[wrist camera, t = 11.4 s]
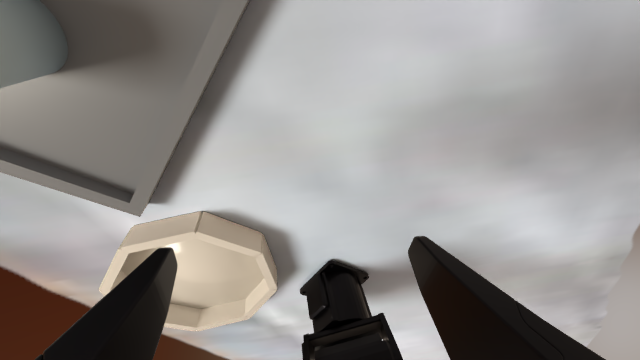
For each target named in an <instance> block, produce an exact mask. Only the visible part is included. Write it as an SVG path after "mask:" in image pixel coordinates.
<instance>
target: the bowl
mask: <svg viewBox="0 0 640 360" xmlns="http://www.w3.org/2000/svg"><path fill="white" fill-rule="evenodd" d="M165 247H171V248H173V250H174V253H175V257H176V260H177V265H178V267H177V273H176V278H175V282H174V287H173V292H172V296H171V301H170V306H169V310H168V314H167V318H166V321H165V324H164V327H168V328H175V329H182V330H189V331H196V330H197V331H201V330H205V329H210V328H214V327H218V326H222V325H226V324H230V323H234V322H238V321H243V320H247V319H249V318H251V317H252V316H253V315H254V314H255V313H256V312H257V311H258V310H259V308H260V307H261V306H262V305H263V304H264V303H265V302H266V301H267V300H268V299H269V298H270V297H271V296H272V295H273V294H274V293H275V292H276V291H277V268H276V265H275V263H274V260H273V258H272V255H271V253H270V250H269V248H268V245H267V243H266V240H265V238H264V235H263V234H262V233H261V232H258V231H256V230H253V229H250V228H247V227H245V226H242V225H239V224H237V223H234V222H231V221H228V220H226V219H223V218H220V217H218V216H215V215H212V214H209V213H207V212H204V211H203V213H201V211H199V212H194V213H190V214H185V215H180V216H176V217H171V218H166V219H162V220H157V221H152V222H148V223H143V224H138V225H134V226H133V227H132V228H131V229H130V231H129V232H128V234H127V236H126V237H125V239H124V240H123V242H122V244H121V245H120V247H119V248H118V250H117V252H116V254H115V256H114V259H113V261H112V263H111V265H110V267H109V269H108V271H107V273H106V275H105V277H104V279H103V281H102V283H101V285H100V287H99V291H100V292H101V293H102V294H103V295H104V296H106V295H107V294H108V293H109V292H110V291H111V290H112V289H113V288H114V287H116V286H117V285H118V284H119V283H120V282H121V281H122V280H123V279H124V278H125V277H127V276H128V275H129V274H130V273H131V272H132V271H133V270H134V269H135V268H137V267H138V266H139V265H140V264H141V263H142V262H143V261H144V260H145V259H146V258H148V257H149V256H150V255H151V254H152V253H153V252H154V251H155V250H156V249H158V248H165Z"/></svg>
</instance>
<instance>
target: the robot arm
mask: <svg viewBox="0 0 640 360" xmlns="http://www.w3.org/2000/svg"><path fill="white" fill-rule="evenodd" d="M408 255H409V259H410V262H411V265H412V268H413V271H414V274H415V277H416V280H417V283H418V286H419V289H420V291H421V294H422V296H423V299H424V301H425V303H426V305H427V308H428V310H429V312H430V314H431V317H432V319H433V321H434V323H435V326H436V328H437V330H438V333H439V335H440V337H441V339H442V342H443V344H444V346H445V348H446V351H447V353H448V355H449V357H450V360H605V359H604V358H602V357H600V356H599V355H597V354H596V353H594V352H593V351H591V350H590V349H588V348H587V347H585V346H583V345H582V344H580V343H579V342H577V341H576V340H574V339H572V338H571V337H569V336H568V335H566V334H564V333H563V332H561V331H560V330H558V329H557V328H555V327H554V326H552V325H551V324H549V323H548V322H546V321H545V320H543V319H542V318H540V317H539V316H537V315H536V314H534V313H533V312H531V311H530V310H529V309H527V308H526V307H524V306H523V305H521V304H520V303H519V302H517V301H515V300H514V299H513V298H512V297H510V296H509V295H507V294H506V293H505V292H503V291H502V290H500V289H499V288H497V287H496V286H495V285H493V284H492V283H490V282H489V281H488V280H486V279H485V278H483V277H482V276H481V275H479V274H478V273H476V272H475V271H473V270H472V269H471V268H469V267H468V266H466V265H465V264H464V263H462V262H461V261H459V260H458V259H457V258H455V257H454V256H452V255H451V254H450V253H448V252H447V251H445V250H444V249H442V248H441V247H440V246H438V245H437V244H435V243H434V242H433V241H431V240H430V239H428V238H427V237H425V236H416V237H415V238H414V239H413V241H412V243H411V245H410V247H409V250H408ZM177 267H178V265H177V260H176V257H175V253H174V250H173V248H171V247H165V248H158V249H156V250H155V251H154V252H153V253H152V254H151V255H150V256H149V257H148V258H146V259H145V260H144V261H143V262H142V263H141V264H140V265H139V266H138V267H137V268H135V269H134V270H133V271H132V272H131V273H130V274H129V275H128V276H127V277H125V278H124V279H123V280H122V281H121V282H120V283H119V284H118V285H117V286H116V287H114V288H113V289H112V290H111V291H110V292H109V293H108V294H107V295H106V296H104V297H103V298H102V299H101V300H100V301H99V302H98V303H97V304H96V305H95V306H93V307H92V308H91V309H90V310H89V311H88V312H87V313H86V314H85V315H84V316H82V317H81V318H80V319H79V320H78V321H77V322H76V323H75V324H74V325H72V326H71V327H70V328H69V329H68V330H67V331H66V332H65V333H64V334H63V335H61V336H60V337H59V338H58V339H57V340H56V341H55V342H54V343H53V344H52V345H51V346H49V347H48V348H47V349H46V350H45V351H44V352H43V355H39V356H38V357H37V358H36V359H35V360H153V356H154V354H155V351H156V348H157V345H158V342H159V339H160V336H161V333H162V330H163V327H164V324H165V321H166V318H167V314H168V310H169V306H170V301H171V296H172V292H173V287H174V282H175V278H176V273H177ZM368 278H369V275H368V273H366V272H363V271H360V270H358V269H355V268H352V267H349V266H347V265H344V264H341V263H338V262H336V261H332V260H331V261H328V262H327V263H326V264H325V265H324V266H323V267H322V268H321V269H320V270H319V271H318V272H317V273H316V274H315V275H314V276H313V277H312V278H311V279H310V280H309V281H308V282H307V283H306V284H305V285H304V286H303V287H302V288H301V289H300V294H302V295H305V296H307V302H308V310H309V317H310V319H312V320H313V328H314V333H313V334H305V335H304V343H302V353H303V360H403V359H402V356H401V353H400V351H399V348H398V346H397V344H396V341H395V339H394V337H393V335H392V332H391V330H390V328H389V325H388V323H387V321H386V318H385V316H384V314H383V313H379V314H378V315H376V316H372V315H371V312H370V309H369V306H368V303H367V300H366V297H365V294H364V291H363V288H362V285H361V284H363V283H364V282H365V281H366V280H367V279H368ZM382 339H383V341H382Z"/></svg>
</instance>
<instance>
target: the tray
mask: <svg viewBox="0 0 640 360" xmlns="http://www.w3.org/2000/svg"><path fill="white" fill-rule="evenodd" d="M40 1H41V2H42V3H43V4H44V5H45V6H46V7H47V8H48V9H49V10H50V12H51V13H52V14H53V15H54V16H55V18H56V19H57V21H58V22H59V24H60V26H61V28H62V29H63V32H64V34H65V37H66V40H67V45H68V56H67V60H66V62H65V64H64V65H63V67H62V68H61V69H59V70H58V71H57V72H54V73H52V74H49V75H45V76H42V77H38V78H35V79H31V80H28V81H24V82H21V83H17V84H14V85H10V86H7V87H3V88H0V172H2V173H5V174H8V175H11V176H14V177H17V178H20V179H24V180H27V181H30V182H33V183H36V184H39V185H42V186H45V187H49V188H52V189H55V190H58V191H61V192H64V193H67V194H70V195H74V196H77V197H80V198H83V199H86V200H89V201H92V202H95V203H99V204H102V205H105V206H108V207H111V208H114V209H117V210H120V211H123V212H127V213H130V214H133V215H136V216H139V217H140V216H141V214H142V213H143V211H144V209H145V208H146V206H147V205H148V203H149V201H150V199H151V197H152V195H153V193H154V191H155V189H156V187H157V185H158V183H159V181H160V179H161V177H162V175H163V173H164V171H165V169H166V167H167V165H168V163H169V161H170V159H171V157H172V155H173V153H174V151H175V149H176V147H177V145H178V143H179V141H180V139H181V137H182V135H183V133H184V131H185V129H186V127H187V125H188V123H189V121H190V119H191V117H192V115H193V113H194V111H195V109H196V107H197V105H198V103H199V101H200V99H201V97H202V95H203V93H204V91H205V89H206V87H207V85H208V83H209V81H210V79H211V77H212V75H213V73H214V71H215V69H216V67H217V65H218V63H219V61H220V59H221V57H222V55H223V53H224V51H225V49H226V47H227V45H228V43H229V41H230V39H231V37H232V35H233V33H234V31H235V29H236V27H237V25H238V23H239V21H240V19H241V17H242V15H243V13H244V11H245V9H246V7H247V5H248V3H249V1H250V0H40Z"/></svg>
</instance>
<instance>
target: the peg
mask: <svg viewBox="0 0 640 360" xmlns="http://www.w3.org/2000/svg"><path fill="white" fill-rule="evenodd" d="M67 56H68V45H67V40H66V37H65V34H64V32H63V29H62V28H61V26H60V24H59V22H58V21H57V19H56V18H55V16H54V15H53V14H52V13H51V12H50V10H49V9H48V8H47V7H46V6H45V5H44V4H43V3H42V2H41V1H40V0H0V88H3V87H7V86H10V85H14V84H17V83H21V82H24V81H28V80H31V79H35V78H38V77H42V76H45V75H49V74H52V73H54V72H57V71H58V70H59V69H61V68H62V67H63V65H64V64H65V62H66V60H67Z"/></svg>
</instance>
